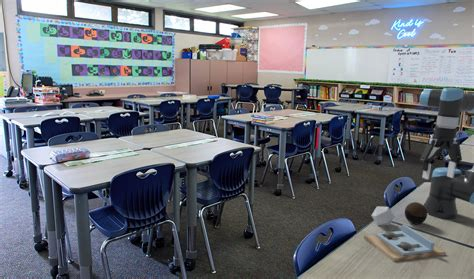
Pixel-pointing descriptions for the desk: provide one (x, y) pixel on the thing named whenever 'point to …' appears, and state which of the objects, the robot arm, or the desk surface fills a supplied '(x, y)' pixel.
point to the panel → (409, 241)
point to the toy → (415, 213)
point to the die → (382, 216)
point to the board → (405, 246)
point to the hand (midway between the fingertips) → (437, 177)
